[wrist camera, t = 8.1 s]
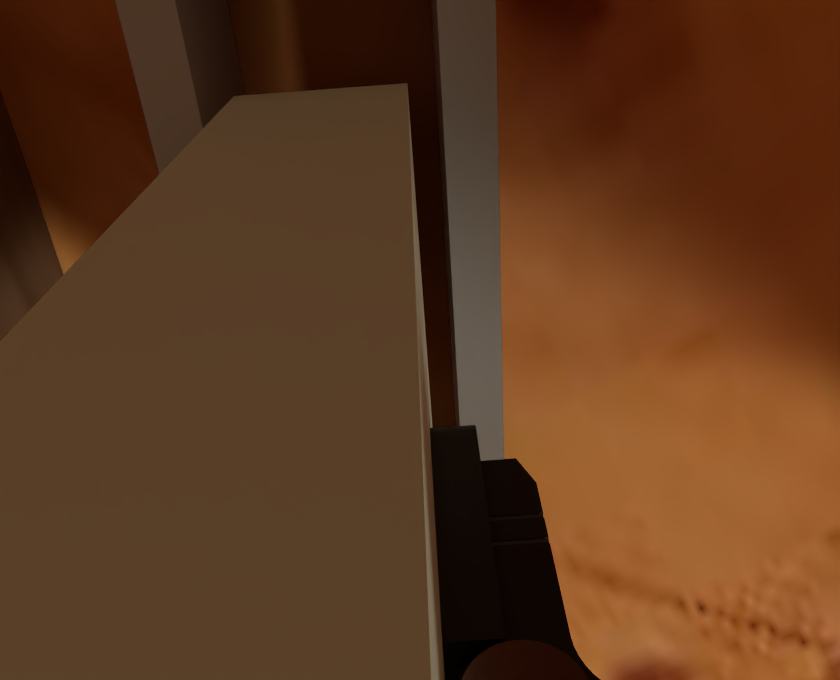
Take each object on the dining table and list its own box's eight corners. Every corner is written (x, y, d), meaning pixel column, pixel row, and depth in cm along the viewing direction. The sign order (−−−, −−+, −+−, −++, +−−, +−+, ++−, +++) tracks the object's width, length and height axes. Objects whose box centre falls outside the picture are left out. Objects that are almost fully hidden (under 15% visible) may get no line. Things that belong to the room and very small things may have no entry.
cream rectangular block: (407, 83, 14) (433, 731, 3) (433, 439, 18) (489, 1330, 7) (234, 96, 14) (-425, 784, 3) (296, 448, 18) (117, 1350, 7)
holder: (470, -224, 15) (491, -249, 11) (491, 486, 24) (505, 588, 21) (137, -196, 15) (60, -213, 12) (286, 499, 24) (268, 603, 21)
